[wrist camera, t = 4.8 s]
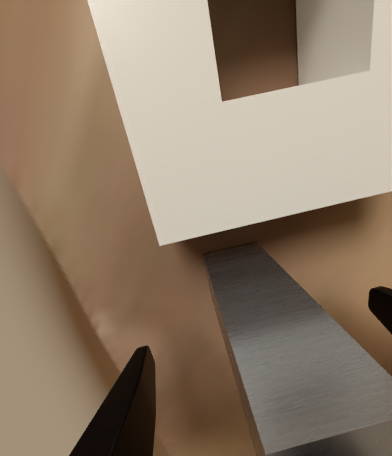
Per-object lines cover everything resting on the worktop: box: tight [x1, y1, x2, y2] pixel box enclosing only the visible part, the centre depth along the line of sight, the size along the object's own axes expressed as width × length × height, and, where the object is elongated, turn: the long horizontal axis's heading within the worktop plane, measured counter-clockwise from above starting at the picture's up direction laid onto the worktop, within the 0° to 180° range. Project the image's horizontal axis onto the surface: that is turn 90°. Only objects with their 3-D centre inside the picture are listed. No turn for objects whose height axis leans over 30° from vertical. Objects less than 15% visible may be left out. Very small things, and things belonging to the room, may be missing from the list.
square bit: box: [203, 242, 392, 456], centre depth 8 cm, size 3×3×8 cm
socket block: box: [88, 0, 392, 246], centre depth 7 cm, size 12×10×4 cm
